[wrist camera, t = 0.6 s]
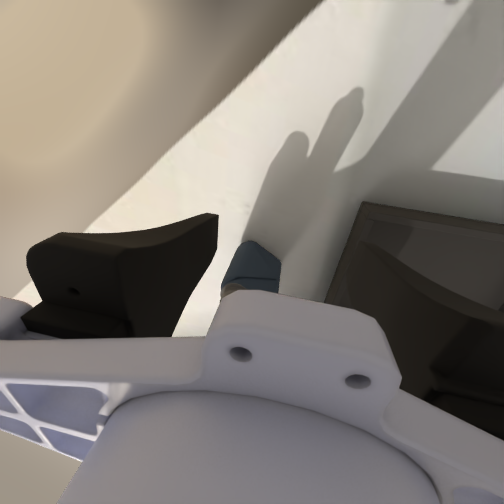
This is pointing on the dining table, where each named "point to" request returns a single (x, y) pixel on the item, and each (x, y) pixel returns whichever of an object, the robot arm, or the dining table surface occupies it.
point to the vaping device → (252, 270)
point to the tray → (430, 251)
